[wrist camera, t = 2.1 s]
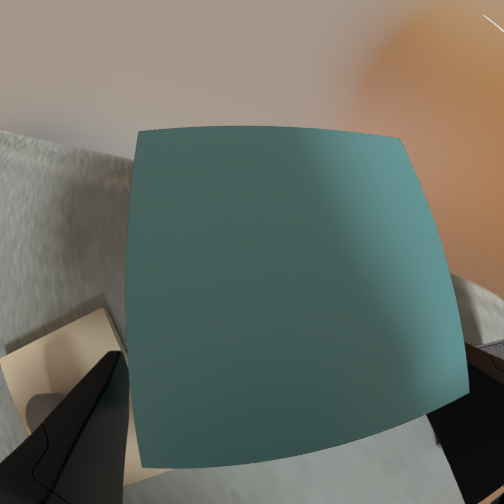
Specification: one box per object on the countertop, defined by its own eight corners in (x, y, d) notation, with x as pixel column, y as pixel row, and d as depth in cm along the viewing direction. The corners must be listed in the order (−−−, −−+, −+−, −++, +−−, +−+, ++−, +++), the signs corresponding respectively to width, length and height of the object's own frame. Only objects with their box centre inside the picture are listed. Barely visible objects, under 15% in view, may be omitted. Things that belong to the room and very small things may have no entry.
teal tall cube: (300, 382, 16) (469, 392, 4) (193, 394, 15) (141, 467, 3) (286, 282, 19) (399, 138, 7) (184, 290, 18) (138, 131, 6)
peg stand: (186, 459, 14) (178, 487, 10) (71, 495, 11) (41, 519, 7) (108, 310, 16) (78, 291, 12) (7, 360, 14) (-34, 353, 10)
